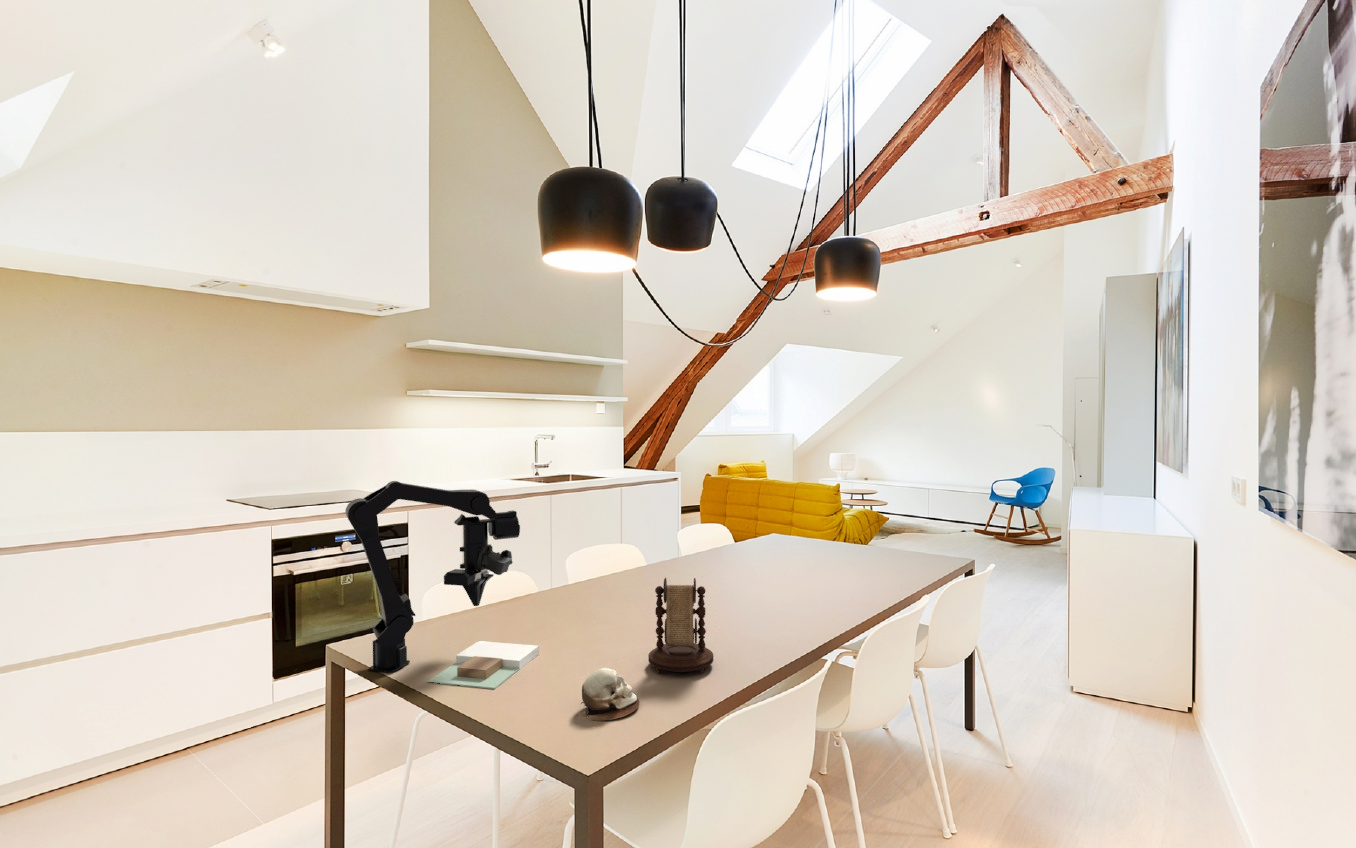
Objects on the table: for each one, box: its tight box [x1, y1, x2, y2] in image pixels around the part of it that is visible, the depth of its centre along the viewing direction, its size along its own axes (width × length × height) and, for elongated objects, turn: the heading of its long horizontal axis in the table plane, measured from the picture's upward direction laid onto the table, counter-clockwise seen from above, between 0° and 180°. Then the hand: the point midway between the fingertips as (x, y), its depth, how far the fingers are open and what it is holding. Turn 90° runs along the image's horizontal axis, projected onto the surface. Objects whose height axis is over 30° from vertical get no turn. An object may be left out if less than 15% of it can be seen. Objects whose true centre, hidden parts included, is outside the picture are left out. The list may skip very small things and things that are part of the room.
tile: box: [457, 656, 502, 679], centre depth 147 cm, size 7×7×2 cm
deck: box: [455, 640, 540, 671], centre depth 156 cm, size 16×10×2 cm, turn 76°
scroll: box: [648, 577, 714, 675], centre depth 150 cm, size 15×15×20 cm
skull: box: [580, 667, 640, 722], centre depth 129 cm, size 12×10×10 cm
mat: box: [427, 662, 520, 690], centre depth 145 cm, size 16×11×1 cm
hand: (476, 605), depth 161 cm, fingers closed
